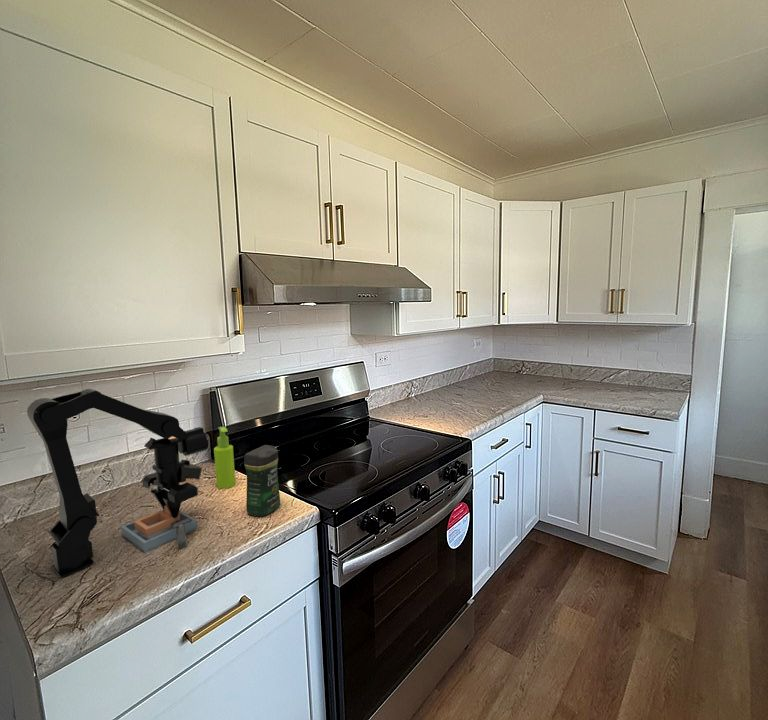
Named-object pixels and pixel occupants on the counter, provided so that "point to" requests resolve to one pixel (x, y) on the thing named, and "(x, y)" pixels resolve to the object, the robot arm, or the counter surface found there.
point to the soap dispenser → (224, 461)
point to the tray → (157, 538)
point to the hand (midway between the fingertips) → (172, 515)
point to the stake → (180, 532)
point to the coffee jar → (262, 480)
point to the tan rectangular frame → (164, 524)
